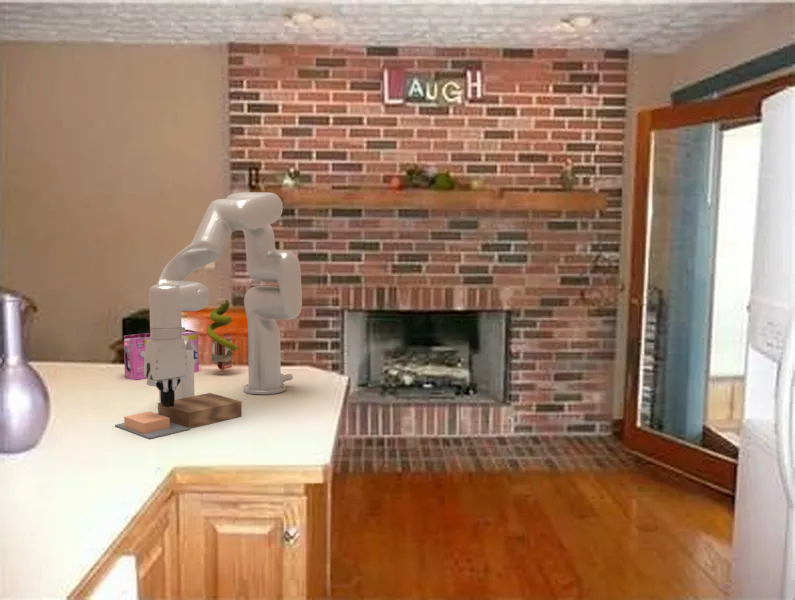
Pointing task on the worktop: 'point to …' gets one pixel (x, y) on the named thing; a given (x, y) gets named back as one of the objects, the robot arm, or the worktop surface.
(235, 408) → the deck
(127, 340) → the gum box
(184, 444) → the worktop surface
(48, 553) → the worktop surface
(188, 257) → the robot arm
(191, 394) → the milk carton
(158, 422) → the peach flat block
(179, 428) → the mat
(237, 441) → the worktop surface
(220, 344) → the prank snake can
